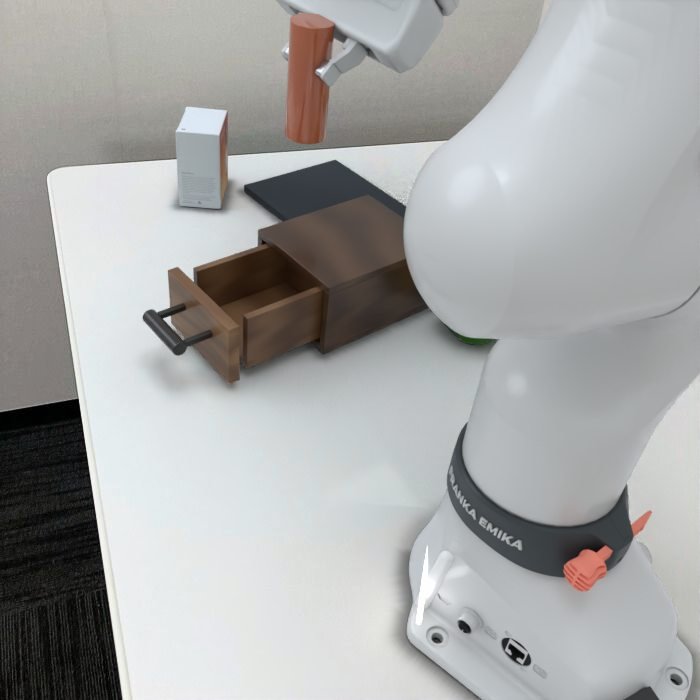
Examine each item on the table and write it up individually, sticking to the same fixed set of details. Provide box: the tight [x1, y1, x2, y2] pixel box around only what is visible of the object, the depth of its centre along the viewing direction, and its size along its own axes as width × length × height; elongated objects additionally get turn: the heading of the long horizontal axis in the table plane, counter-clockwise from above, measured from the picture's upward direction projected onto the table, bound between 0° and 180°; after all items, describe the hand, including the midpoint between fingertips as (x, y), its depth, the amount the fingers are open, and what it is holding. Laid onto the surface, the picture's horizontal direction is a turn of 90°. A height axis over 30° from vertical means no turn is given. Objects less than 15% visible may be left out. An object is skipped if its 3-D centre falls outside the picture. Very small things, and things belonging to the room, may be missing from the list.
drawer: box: [142, 243, 324, 385], centre depth 79 cm, size 19×11×7 cm, turn 129°
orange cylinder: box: [284, 13, 335, 145], centre depth 80 cm, size 4×4×12 cm
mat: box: [243, 159, 406, 222], centre depth 105 cm, size 20×16×1 cm
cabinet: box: [257, 195, 429, 355], centre depth 86 cm, size 16×13×9 cm
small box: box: [174, 106, 229, 210], centre depth 101 cm, size 8×6×10 cm
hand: (304, 70), depth 78 cm, fingers closed on orange cylinder, 4 cm apart
